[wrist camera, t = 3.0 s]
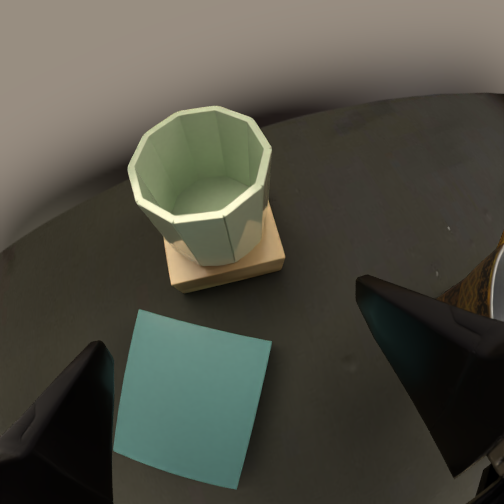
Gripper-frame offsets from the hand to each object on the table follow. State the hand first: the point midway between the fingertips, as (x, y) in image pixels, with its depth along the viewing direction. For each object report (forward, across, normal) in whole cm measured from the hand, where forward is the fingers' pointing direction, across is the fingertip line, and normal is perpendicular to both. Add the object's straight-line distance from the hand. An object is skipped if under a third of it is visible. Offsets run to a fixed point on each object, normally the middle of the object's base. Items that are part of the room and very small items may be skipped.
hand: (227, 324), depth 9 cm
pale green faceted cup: (+12, 0, +1) cm, 12 cm away
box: (+6, +5, +12) cm, 14 cm away
